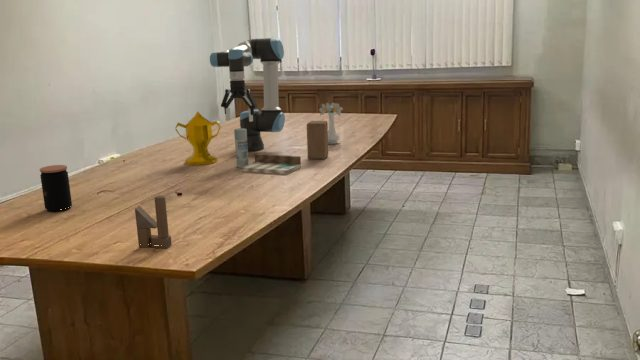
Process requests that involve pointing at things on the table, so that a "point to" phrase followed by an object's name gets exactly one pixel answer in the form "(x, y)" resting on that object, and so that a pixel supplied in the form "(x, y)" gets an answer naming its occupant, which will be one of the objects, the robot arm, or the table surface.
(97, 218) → the table surface
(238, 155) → the spray paint can
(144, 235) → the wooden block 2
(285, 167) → the marking board
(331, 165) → the table surface
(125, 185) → the table surface
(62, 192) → the coffee jar
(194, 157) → the trophy cup
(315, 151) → the wooden block
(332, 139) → the flower vase
